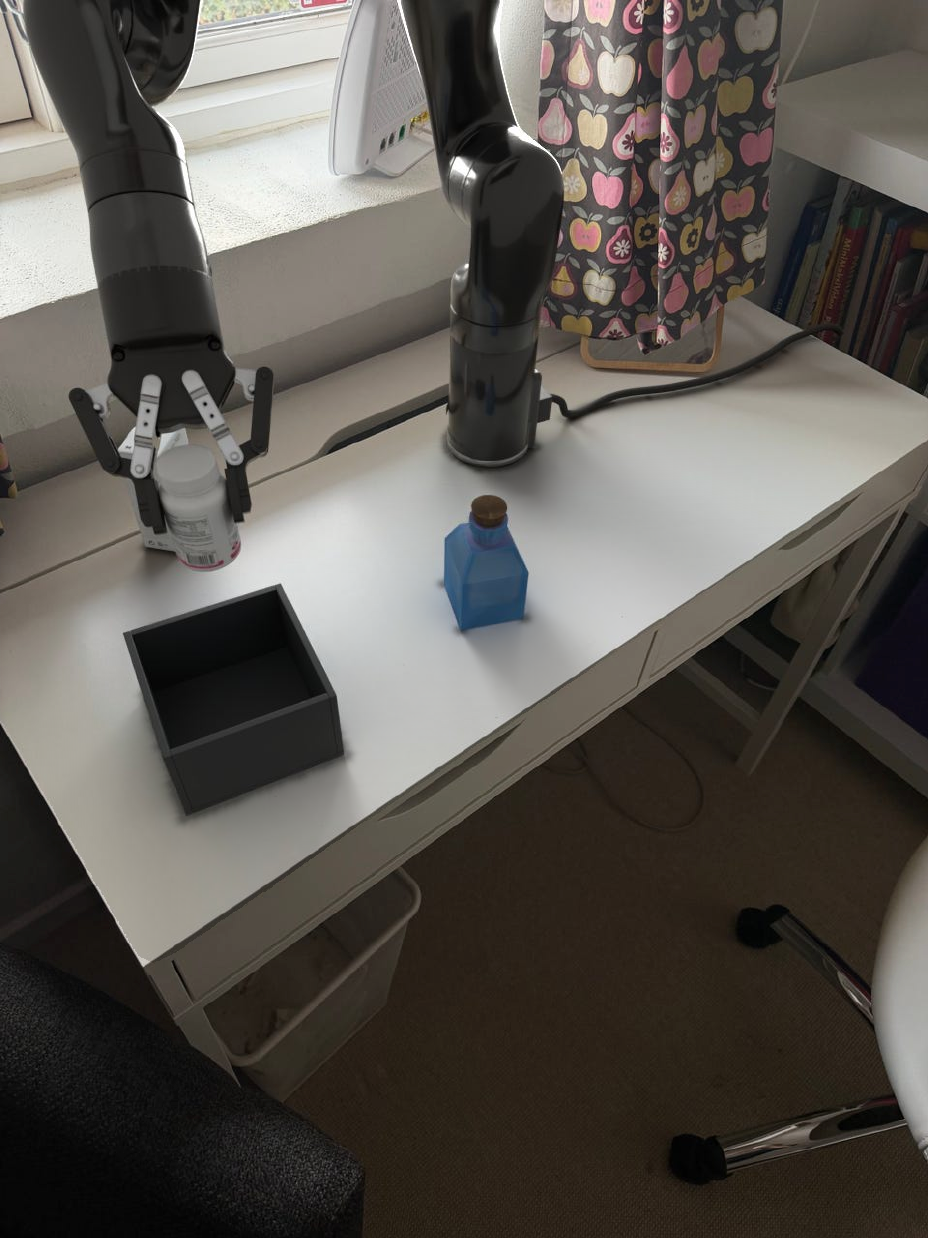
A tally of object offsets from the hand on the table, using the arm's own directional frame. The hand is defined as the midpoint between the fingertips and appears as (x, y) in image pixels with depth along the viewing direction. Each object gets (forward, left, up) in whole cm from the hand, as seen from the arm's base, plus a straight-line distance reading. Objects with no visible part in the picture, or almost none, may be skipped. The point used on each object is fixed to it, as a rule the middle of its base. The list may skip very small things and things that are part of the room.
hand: (200, 526), depth 62 cm
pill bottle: (0, -2, -4) cm, 5 cm away
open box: (+1, +2, -20) cm, 20 cm away
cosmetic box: (0, -24, -20) cm, 31 cm away
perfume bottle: (-24, -2, -20) cm, 31 cm away
